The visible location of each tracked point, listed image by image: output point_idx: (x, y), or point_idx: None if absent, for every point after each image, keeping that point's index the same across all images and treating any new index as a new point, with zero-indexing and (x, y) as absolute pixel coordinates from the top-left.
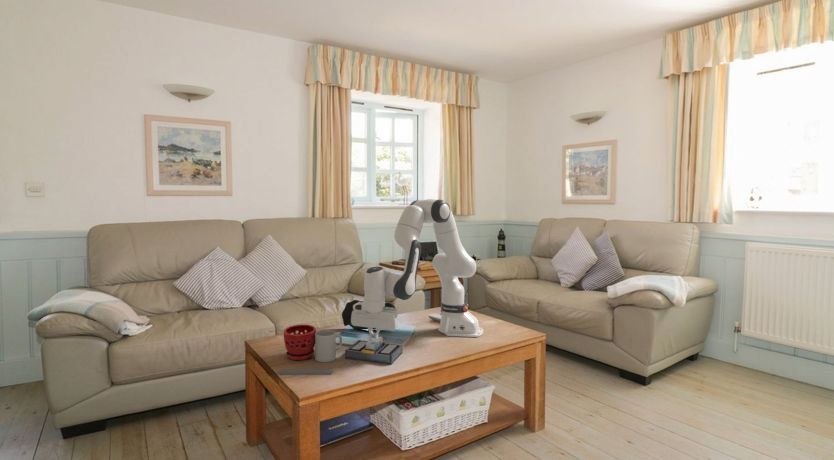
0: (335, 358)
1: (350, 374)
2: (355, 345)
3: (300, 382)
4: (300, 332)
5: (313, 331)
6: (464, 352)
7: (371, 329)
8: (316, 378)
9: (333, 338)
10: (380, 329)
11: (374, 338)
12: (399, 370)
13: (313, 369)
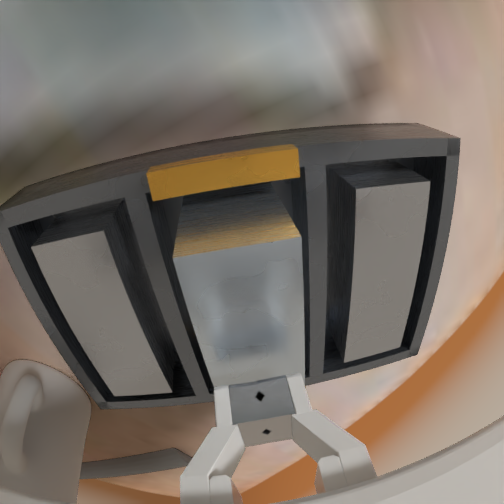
0: (80, 388)
1: None
2: (84, 349)
3: (163, 487)
4: None
5: None
6: None
7: (214, 468)
8: (178, 475)
9: (72, 499)
10: (365, 453)
11: (226, 332)
12: (434, 343)
13: (134, 471)
